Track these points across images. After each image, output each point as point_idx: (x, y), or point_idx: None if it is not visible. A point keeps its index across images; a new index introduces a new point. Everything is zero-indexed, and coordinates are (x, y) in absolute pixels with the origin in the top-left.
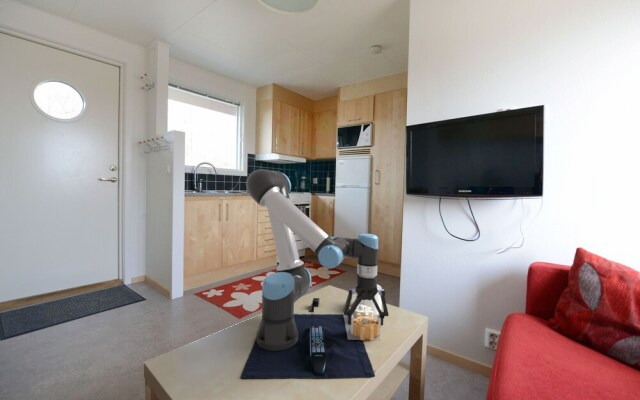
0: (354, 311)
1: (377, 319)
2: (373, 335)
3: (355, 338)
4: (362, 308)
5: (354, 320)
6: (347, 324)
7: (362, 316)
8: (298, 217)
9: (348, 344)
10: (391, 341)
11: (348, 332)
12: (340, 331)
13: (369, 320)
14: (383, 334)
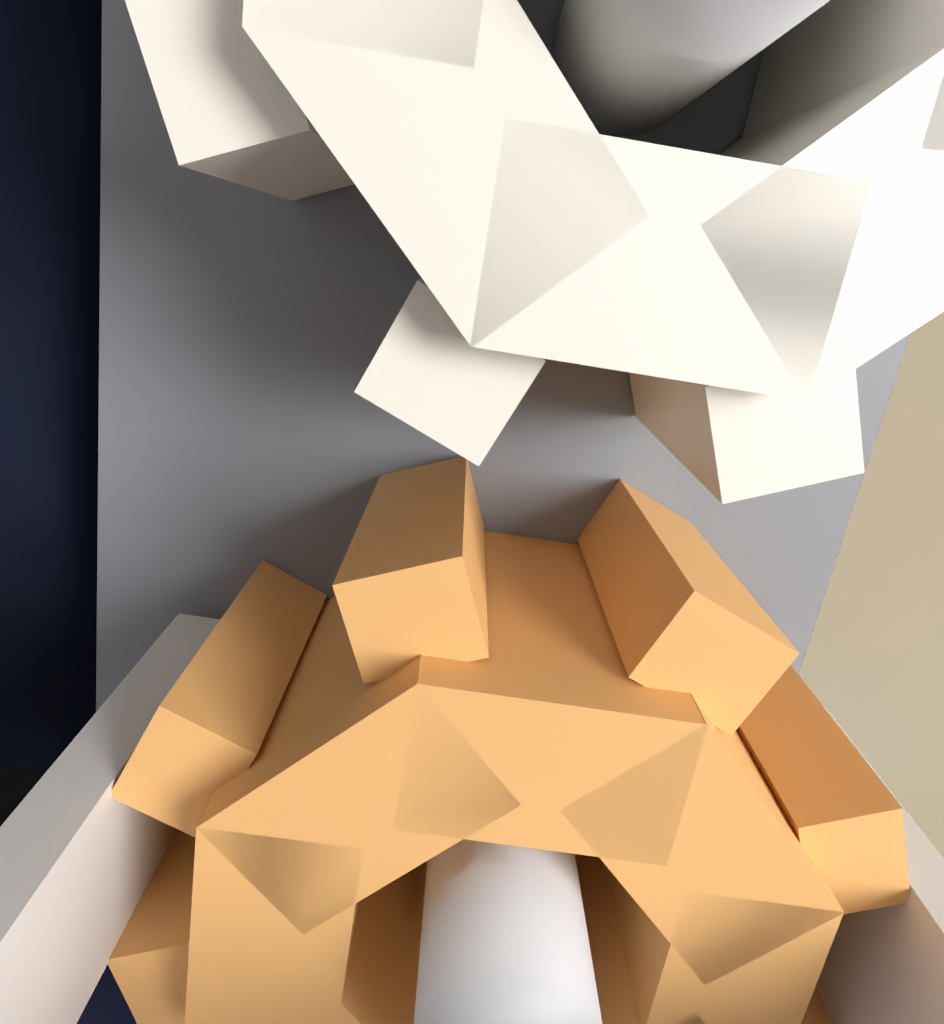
0: (317, 116)
1: (933, 996)
2: None
3: None
4: (779, 20)
5: (177, 805)
6: (165, 283)
7: (502, 708)
8: None
9: None
10: (929, 832)
11: (139, 648)
12: (22, 409)
13: (658, 918)
14: (917, 617)
